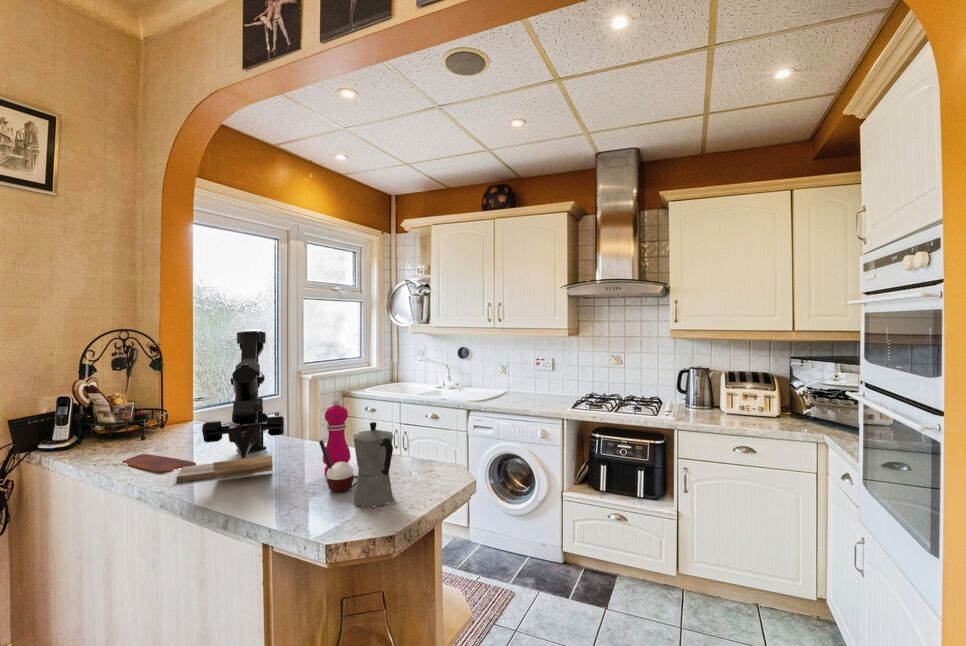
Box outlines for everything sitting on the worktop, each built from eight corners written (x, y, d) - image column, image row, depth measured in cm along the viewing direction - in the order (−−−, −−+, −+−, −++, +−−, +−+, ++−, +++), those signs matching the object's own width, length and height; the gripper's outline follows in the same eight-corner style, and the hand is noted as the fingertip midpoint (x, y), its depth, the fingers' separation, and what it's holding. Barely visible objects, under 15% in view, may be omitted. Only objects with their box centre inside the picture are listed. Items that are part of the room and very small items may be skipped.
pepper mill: (356, 470, 123) (355, 398, 123) (337, 479, 116) (337, 403, 116) (336, 467, 126) (335, 397, 126) (316, 475, 119) (316, 401, 119)
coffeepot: (342, 496, 105) (342, 420, 105) (379, 487, 110) (379, 415, 110) (371, 518, 93) (370, 432, 93) (410, 506, 98) (410, 425, 98)
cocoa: (361, 489, 110) (364, 441, 110) (344, 498, 104) (347, 446, 104) (331, 482, 114) (334, 435, 114) (313, 490, 108) (316, 441, 108)
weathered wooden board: (183, 472, 122) (183, 466, 122) (255, 463, 129) (255, 458, 129) (176, 482, 114) (176, 476, 114) (254, 472, 122) (254, 466, 122)
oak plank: (217, 477, 116) (218, 471, 117) (272, 470, 122) (272, 464, 123) (213, 469, 108) (213, 462, 109) (272, 461, 114) (272, 455, 115)
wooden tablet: (199, 466, 130) (199, 460, 130) (162, 477, 121) (162, 471, 121) (147, 454, 141) (147, 449, 141) (110, 463, 132) (110, 458, 132)
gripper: (202, 390, 113) (195, 444, 102) (283, 385, 120) (284, 435, 110) (207, 415, 120) (201, 468, 110) (283, 409, 127) (284, 458, 117)
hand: (243, 457), depth 112 cm, fingers closed
